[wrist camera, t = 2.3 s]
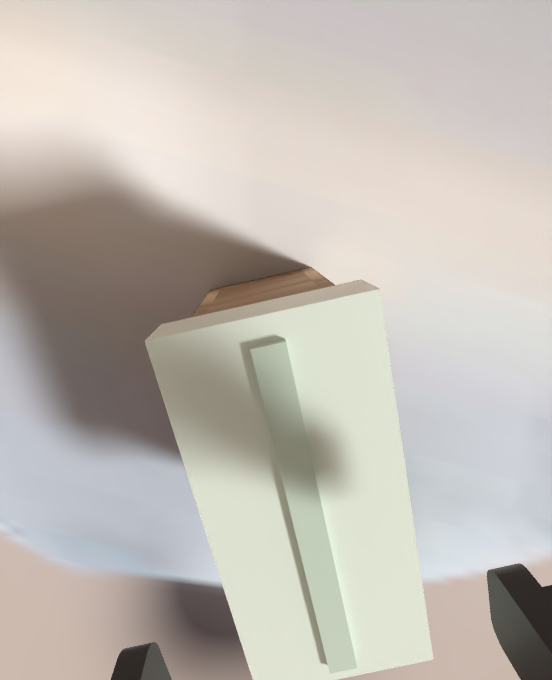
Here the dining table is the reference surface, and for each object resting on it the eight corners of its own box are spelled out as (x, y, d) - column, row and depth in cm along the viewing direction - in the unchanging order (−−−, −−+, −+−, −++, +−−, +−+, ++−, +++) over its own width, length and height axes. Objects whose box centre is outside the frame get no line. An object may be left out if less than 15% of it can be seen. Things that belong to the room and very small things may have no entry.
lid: (166, 318, 14) (141, 344, 11) (355, 276, 14) (382, 290, 11) (257, 624, 18) (258, 704, 15) (406, 592, 18) (436, 668, 15)
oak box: (210, 289, 23) (177, 336, 13) (311, 267, 23) (351, 297, 13) (261, 483, 26) (264, 631, 17) (348, 464, 26) (402, 602, 17)
